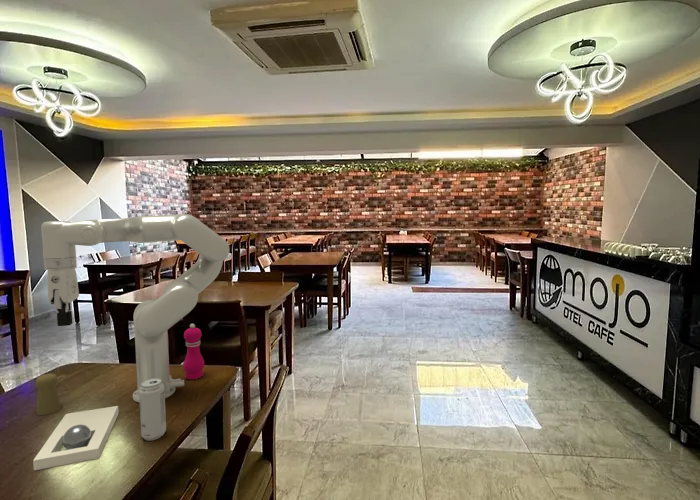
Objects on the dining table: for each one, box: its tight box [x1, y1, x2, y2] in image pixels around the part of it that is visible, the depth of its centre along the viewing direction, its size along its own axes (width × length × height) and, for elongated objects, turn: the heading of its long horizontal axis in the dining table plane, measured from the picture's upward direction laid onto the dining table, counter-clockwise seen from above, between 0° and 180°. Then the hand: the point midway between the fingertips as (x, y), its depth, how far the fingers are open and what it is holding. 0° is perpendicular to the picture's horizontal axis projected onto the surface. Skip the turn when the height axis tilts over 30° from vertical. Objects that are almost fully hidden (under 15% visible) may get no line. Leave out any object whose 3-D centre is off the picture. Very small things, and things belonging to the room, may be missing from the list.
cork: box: [34, 373, 62, 416], centre depth 115 cm, size 6×6×11 cm
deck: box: [32, 405, 119, 471], centre depth 101 cm, size 13×22×2 cm, turn 21°
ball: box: [62, 425, 91, 450], centre depth 96 cm, size 6×6×6 cm
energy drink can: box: [138, 378, 167, 442], centre depth 102 cm, size 6×6×15 cm
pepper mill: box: [182, 323, 205, 380], centre depth 138 cm, size 7×7×20 cm
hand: (65, 324), depth 112 cm, fingers closed
